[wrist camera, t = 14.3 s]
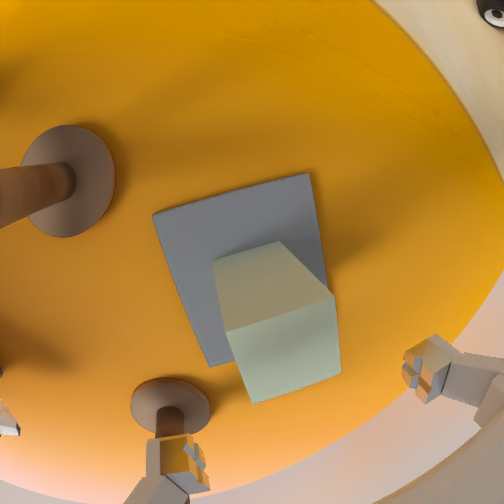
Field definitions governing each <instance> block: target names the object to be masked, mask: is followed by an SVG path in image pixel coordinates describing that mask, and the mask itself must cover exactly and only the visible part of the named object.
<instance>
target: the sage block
mask: <svg viewBox="0 0 504 504" xmlns="http://www.w3.org/2000/svg"><path fill="white" fill-rule="evenodd" d="M211 263H212V268H213V274H214V279H215V284H216V290H217V295H218V300H219V305H220V310H221V315H222V320H223V325H224V330H225V333H226V336H227V339H228V342H229V344H230V347H231V350H232V353H233V355H234V358H235V361H236V363H237V366H238V369H239V371H240V374H241V376H242V379H243V382H244V384H245V387H246V389H247V392H248V394H249V397H250V399H251V402H252V404H255V403H258V402H261V401H265V400H268V399H271V398H274V397H277V396H280V395H284V394H287V393H289V392H292V391H295V390H298V389H301V388H304V387H306V386H309V385H312V384H315V383H317V382H320V381H322V380H325V379H327V378H330V377H332V376H335V375H337V374H340V373H341V362H340V348H339V335H338V324H337V313H336V303H335V296H334V295H333V294H332V293H331V292H330V291H329V290H328V289H327V288H326V287H325V286H324V285H323V284H322V283H321V282H320V281H319V280H318V279H317V278H316V277H315V276H314V275H313V274H312V273H311V272H310V271H309V270H308V269H307V268H306V267H305V266H304V265H303V264H302V263H301V262H300V261H299V260H298V259H297V258H296V257H295V256H294V255H293V254H292V253H291V252H290V251H289V250H288V249H287V248H286V247H285V246H284V245H283V244H282V243H281V242H280V241H277V242H273V243H270V244H267V245H263V246H260V247H256V248H253V249H249V250H246V251H243V252H239V253H236V254H232V255H229V256H226V257H222V258H219V259H215V260H212V261H211Z"/></svg>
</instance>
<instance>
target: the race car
mask: <svg viewBox="0 0 504 504" xmlns="http://www.w3.org/2000/svg"><path fill="white" fill-rule="evenodd" d="M477 4H478V7H479V11H480V15H481V17H482V18H483V19H484V20H485V21H486V22H487V23H488V24H489V25H492V26H494V27H497V28H502V29H504V0H477Z"/></svg>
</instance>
